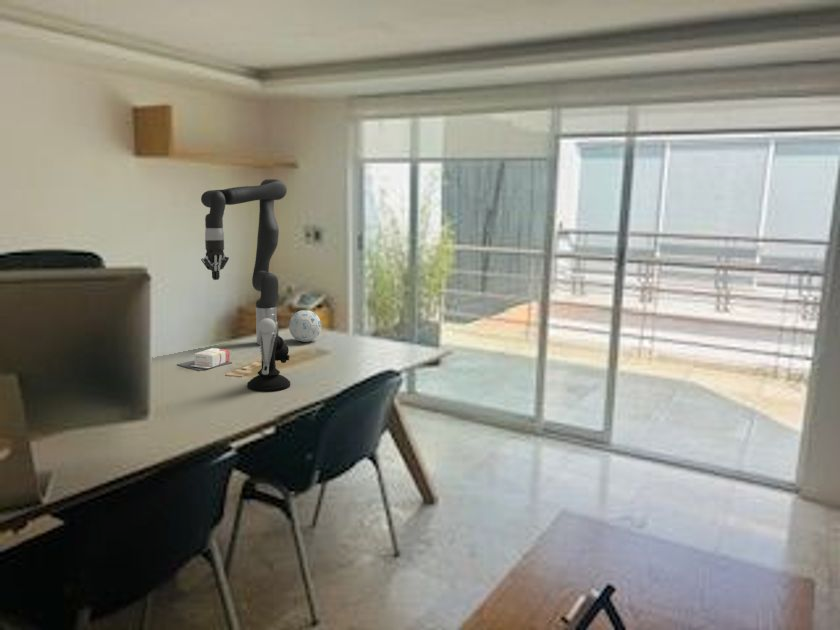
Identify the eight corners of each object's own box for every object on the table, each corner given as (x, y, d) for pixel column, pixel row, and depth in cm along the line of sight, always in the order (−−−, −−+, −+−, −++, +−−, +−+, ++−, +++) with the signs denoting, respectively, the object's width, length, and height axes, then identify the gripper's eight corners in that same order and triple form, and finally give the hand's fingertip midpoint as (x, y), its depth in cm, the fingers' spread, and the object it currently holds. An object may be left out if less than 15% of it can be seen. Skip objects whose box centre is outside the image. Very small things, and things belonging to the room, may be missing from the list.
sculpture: (240, 390, 232) (238, 320, 227) (265, 373, 255) (264, 309, 250) (282, 393, 230) (281, 323, 225) (303, 375, 253) (302, 311, 248)
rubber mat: (210, 357, 276) (210, 356, 276) (232, 363, 269) (232, 362, 269) (177, 365, 263) (177, 364, 263) (199, 371, 256) (199, 370, 256)
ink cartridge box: (229, 349, 270) (207, 357, 256) (229, 361, 271) (207, 369, 257) (211, 347, 272) (189, 354, 258) (212, 358, 273) (189, 367, 259)
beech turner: (251, 363, 269) (251, 360, 269) (267, 364, 268) (267, 361, 267) (225, 375, 250) (225, 372, 250) (241, 377, 249) (241, 374, 248)
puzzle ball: (300, 346, 302) (299, 314, 299) (283, 340, 313) (282, 309, 310) (327, 342, 312) (327, 310, 309) (310, 336, 323) (309, 306, 320)
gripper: (221, 237, 285) (222, 277, 288) (195, 238, 274) (197, 280, 277) (233, 238, 280) (234, 279, 283) (207, 239, 270) (208, 281, 273)
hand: (215, 279), depth 280 cm, fingers closed
